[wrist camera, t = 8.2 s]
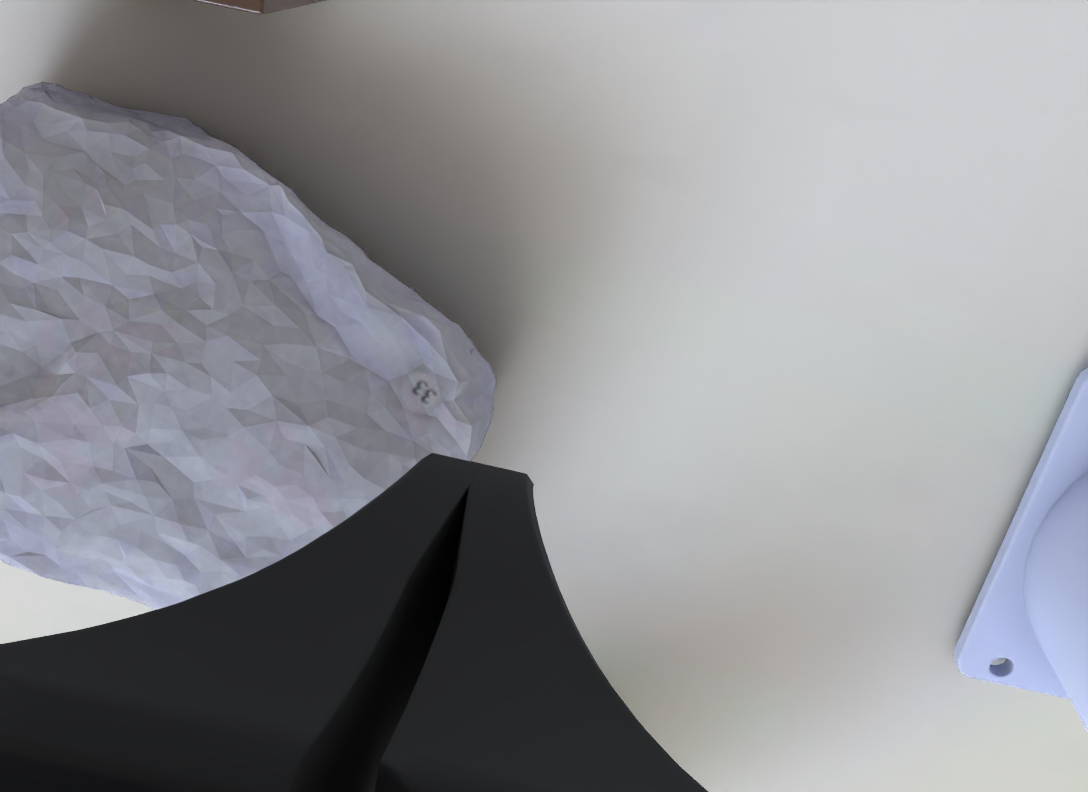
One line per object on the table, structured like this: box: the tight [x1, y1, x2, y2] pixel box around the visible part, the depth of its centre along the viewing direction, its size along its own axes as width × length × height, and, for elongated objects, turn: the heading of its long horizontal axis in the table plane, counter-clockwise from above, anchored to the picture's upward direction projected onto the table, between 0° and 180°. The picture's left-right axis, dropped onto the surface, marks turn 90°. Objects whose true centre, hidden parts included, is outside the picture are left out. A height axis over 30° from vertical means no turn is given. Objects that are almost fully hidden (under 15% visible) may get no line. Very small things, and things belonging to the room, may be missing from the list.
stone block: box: [0, 82, 496, 610], centre depth 21 cm, size 12×5×10 cm
